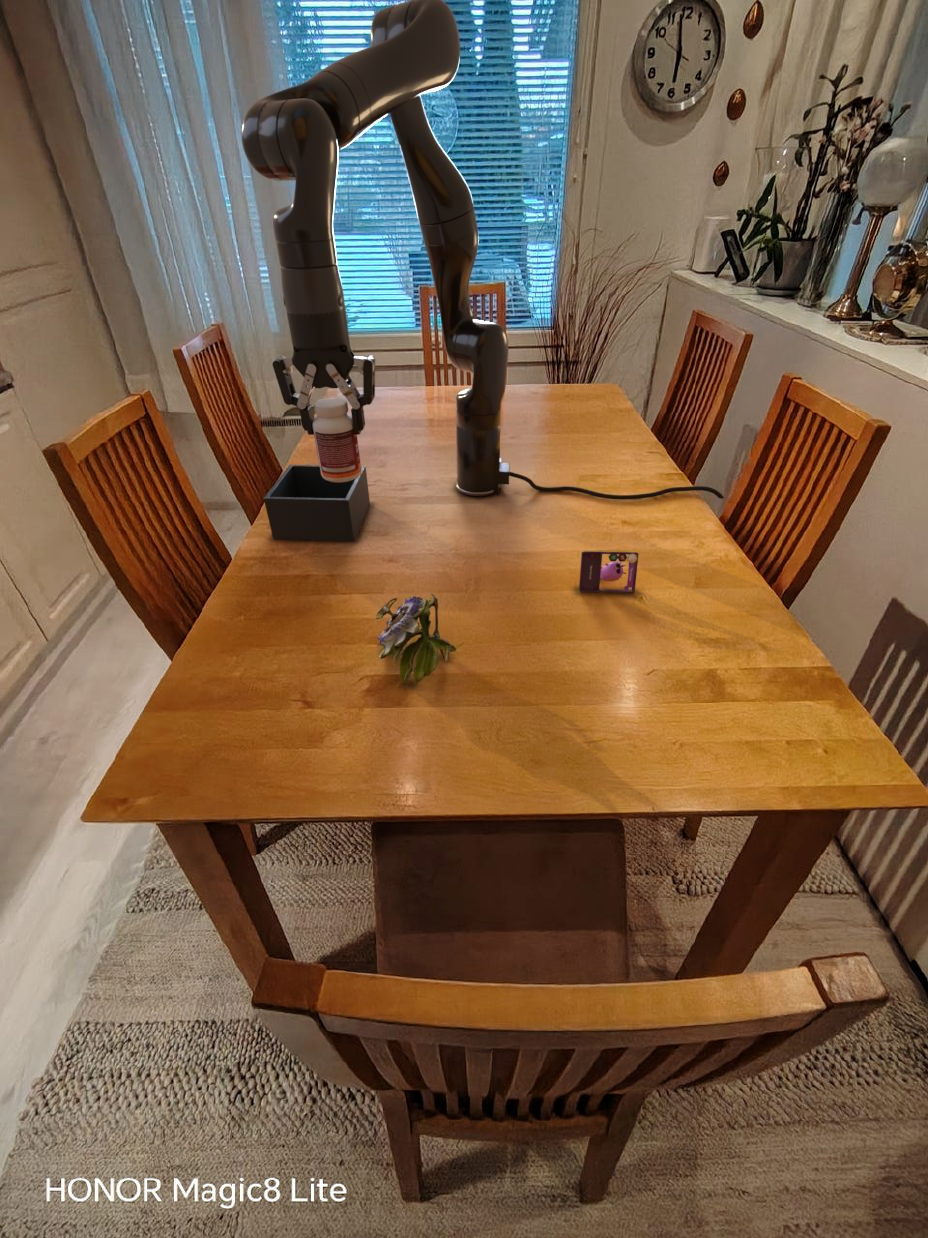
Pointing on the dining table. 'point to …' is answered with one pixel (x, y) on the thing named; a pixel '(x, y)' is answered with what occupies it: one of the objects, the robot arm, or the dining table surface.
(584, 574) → the game card
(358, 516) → the open storage bin
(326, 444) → the pill bottle
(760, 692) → the dining table surface
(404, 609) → the passion flower
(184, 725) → the dining table surface
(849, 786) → the dining table surface
